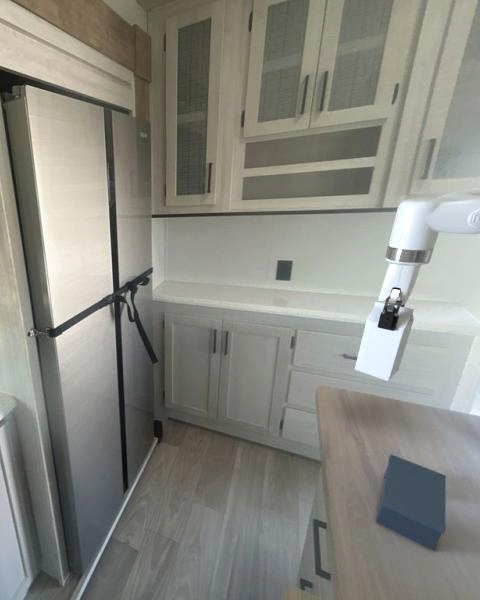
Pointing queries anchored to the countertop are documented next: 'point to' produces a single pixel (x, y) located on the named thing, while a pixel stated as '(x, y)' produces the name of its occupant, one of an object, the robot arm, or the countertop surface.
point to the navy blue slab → (413, 501)
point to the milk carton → (383, 344)
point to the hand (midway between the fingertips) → (389, 322)
